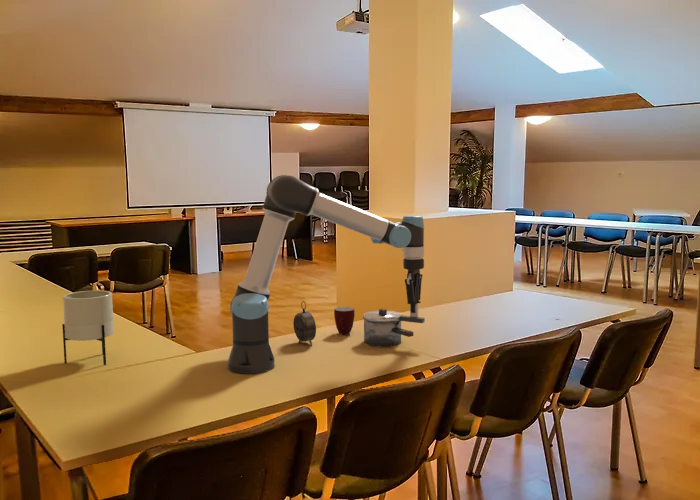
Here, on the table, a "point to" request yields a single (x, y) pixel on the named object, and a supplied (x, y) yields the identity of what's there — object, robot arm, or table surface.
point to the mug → (344, 319)
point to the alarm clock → (304, 326)
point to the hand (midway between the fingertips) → (414, 320)
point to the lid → (390, 317)
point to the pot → (384, 333)
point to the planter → (88, 317)
